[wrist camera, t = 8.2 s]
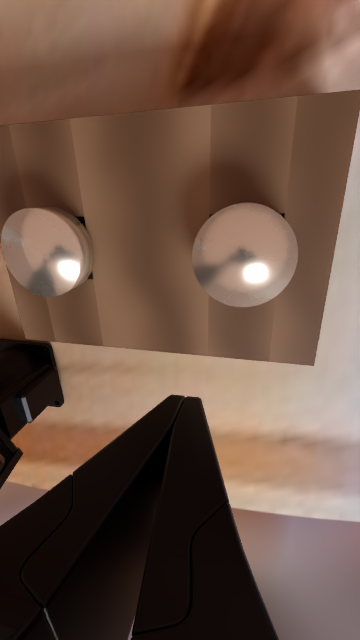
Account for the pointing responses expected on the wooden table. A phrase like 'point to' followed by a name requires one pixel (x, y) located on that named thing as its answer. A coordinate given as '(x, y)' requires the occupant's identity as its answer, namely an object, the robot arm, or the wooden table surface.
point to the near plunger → (245, 255)
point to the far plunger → (47, 250)
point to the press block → (184, 219)
